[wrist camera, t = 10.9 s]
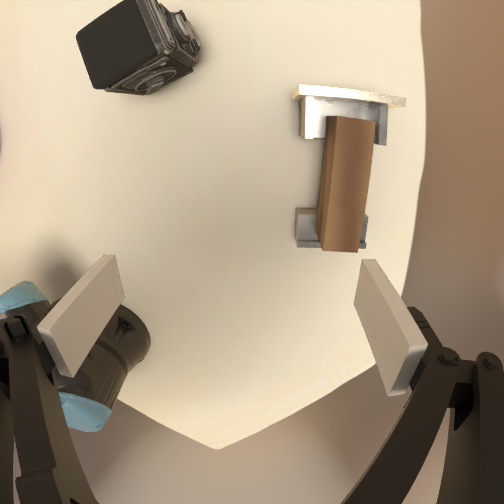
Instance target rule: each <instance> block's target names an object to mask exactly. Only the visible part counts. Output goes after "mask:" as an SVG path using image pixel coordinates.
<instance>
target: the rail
mask: <svg viewBox="0 0 504 504" xmlns="http://www.w3.org/2000/svg"><path fill="white" fill-rule="evenodd" d="M374 133H375V121H369V120H363V119H357V118H350V117H343V116H326V130H325V144H324V156H323V167H322V178H321V188H320V198H319V207H318V216H317V224H316V232H315V233H316V235H317V238H318V240H319V243H320V245H321V248H322V250H323V251H337V252H355V253H358V247H359V242H360V237H361V231H362V225H363V219H364V213H365V207H366V200H367V193H368V186H369V179H370V171H371V163H372V154H373V144H374Z"/></svg>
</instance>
